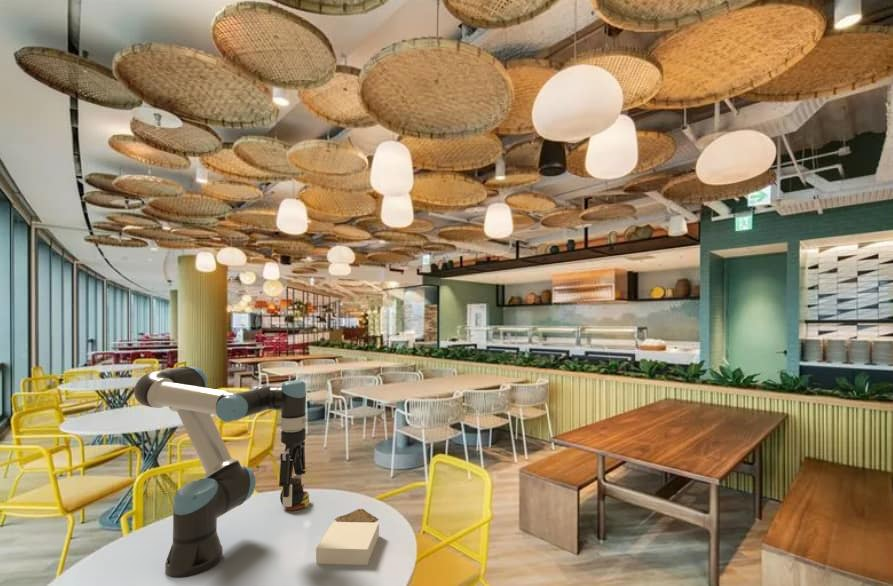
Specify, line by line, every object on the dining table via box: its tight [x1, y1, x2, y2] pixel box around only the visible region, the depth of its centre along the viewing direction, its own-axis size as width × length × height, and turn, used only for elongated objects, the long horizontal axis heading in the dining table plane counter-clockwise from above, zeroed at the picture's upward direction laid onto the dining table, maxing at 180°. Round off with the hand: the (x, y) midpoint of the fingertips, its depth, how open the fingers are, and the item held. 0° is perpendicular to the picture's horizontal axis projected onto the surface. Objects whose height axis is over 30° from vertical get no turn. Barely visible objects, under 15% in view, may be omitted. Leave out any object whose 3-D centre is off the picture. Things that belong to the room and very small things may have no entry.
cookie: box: [334, 508, 379, 523], centre depth 153 cm, size 12×12×1 cm
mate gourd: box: [279, 477, 305, 509], centre depth 133 cm, size 7×8×10 cm
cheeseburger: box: [279, 483, 310, 511], centre depth 164 cm, size 10×11×10 cm
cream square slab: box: [315, 521, 380, 566], centre depth 134 cm, size 16×16×5 cm
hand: (292, 500), depth 133 cm, fingers closed on mate gourd, 7 cm apart
